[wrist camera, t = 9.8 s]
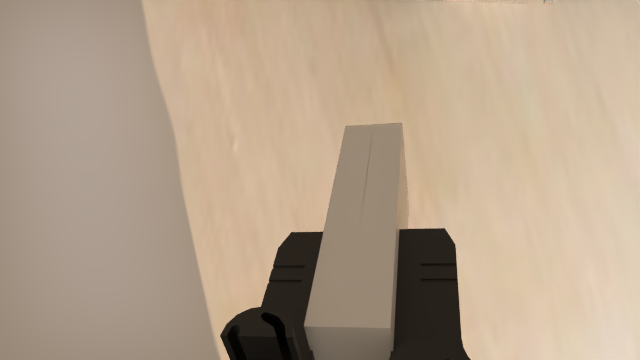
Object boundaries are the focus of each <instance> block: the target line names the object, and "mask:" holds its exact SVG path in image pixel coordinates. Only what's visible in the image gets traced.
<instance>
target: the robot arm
mask: <svg viewBox="0 0 640 360" xmlns="http://www.w3.org/2000/svg"><path fill="white" fill-rule="evenodd" d="M408 210H409V201H408V188H407V176H406V164H405V151H404V139H403V127H402V123H391V124H374V125H357V126H346V127H345V131H344V136H343V141H342V146H341V150H340V155H339V160H338V165H337V170H336V174H335V179H334V184H333V189H332V194H331V198H330V203H329V208H328V213H327V218H326V222H325V227H324V232H291V233H290V235H289V236H288V237H287V238H286V239H285V241H284V242H283V243H282V244H281V245H280V247H279V248H278V251H277V254H276V258H275V261H274V265H273V269H272V271H271V275H270V278H269V283H268V285H267V288H266V292H265V295H264V299H263V302H262V306H261V307H257V308H250V309H248V310H246V311H244V312H242V313H240V314H238V315H236V316H235V317H234V318H233V319H232V320H231V321H230V322H228V323H227V324H226V326H225V328H224V330H223V331H222V333H221V335H220V336H221V339H222V341H223V343H224V346H225V348H226V351H227V353H228V355H229V358H230V360H470V358H469V357H468V356H467V354H466V352H465V350H464V348H463V344H462V339H461V325H460V310H459V294H458V279H457V263H456V248H455V243H454V242H453V240H452V239H451V237H450V236H449V234H448V233H447V231H446V230H445V228H441V229H408Z"/></svg>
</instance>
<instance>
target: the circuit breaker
mask: <svg viewBox="0 0 640 360" xmlns="http://www.w3.org/2000/svg"><path fill="white" fill-rule="evenodd" d="M445 1H475V2H504V3H529V0H445ZM552 1H553V0H544V4H551V3H552Z"/></svg>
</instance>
